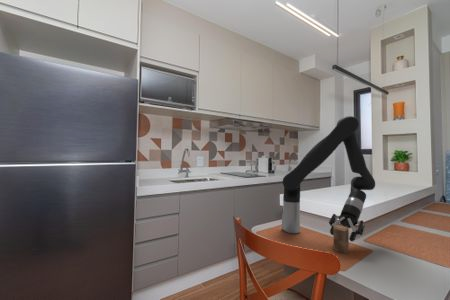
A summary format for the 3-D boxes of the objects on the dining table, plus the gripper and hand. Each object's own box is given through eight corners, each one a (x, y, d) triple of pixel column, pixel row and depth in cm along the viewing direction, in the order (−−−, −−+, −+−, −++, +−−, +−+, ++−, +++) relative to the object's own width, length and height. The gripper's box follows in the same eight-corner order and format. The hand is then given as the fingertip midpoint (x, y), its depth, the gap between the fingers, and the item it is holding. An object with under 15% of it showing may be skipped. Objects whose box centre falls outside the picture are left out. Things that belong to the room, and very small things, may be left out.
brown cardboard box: (333, 249, 96) (333, 225, 96) (337, 247, 98) (337, 224, 98) (344, 254, 92) (344, 229, 92) (348, 252, 94) (348, 227, 94)
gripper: (335, 201, 106) (322, 228, 99) (366, 207, 94) (354, 238, 88) (340, 209, 109) (328, 236, 102) (371, 216, 97) (360, 247, 91)
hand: (340, 237), depth 95 cm, fingers open, 8 cm apart
